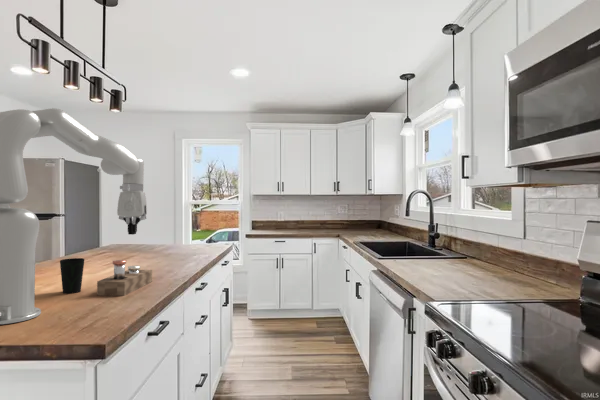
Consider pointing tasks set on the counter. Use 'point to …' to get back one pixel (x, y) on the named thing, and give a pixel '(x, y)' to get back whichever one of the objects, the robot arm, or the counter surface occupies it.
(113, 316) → the counter surface
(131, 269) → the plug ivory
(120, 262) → the plug red
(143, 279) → the socket block
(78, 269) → the cup
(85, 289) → the counter surface
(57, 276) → the counter surface
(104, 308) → the counter surface
